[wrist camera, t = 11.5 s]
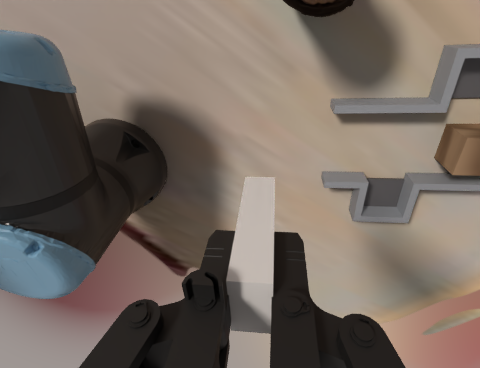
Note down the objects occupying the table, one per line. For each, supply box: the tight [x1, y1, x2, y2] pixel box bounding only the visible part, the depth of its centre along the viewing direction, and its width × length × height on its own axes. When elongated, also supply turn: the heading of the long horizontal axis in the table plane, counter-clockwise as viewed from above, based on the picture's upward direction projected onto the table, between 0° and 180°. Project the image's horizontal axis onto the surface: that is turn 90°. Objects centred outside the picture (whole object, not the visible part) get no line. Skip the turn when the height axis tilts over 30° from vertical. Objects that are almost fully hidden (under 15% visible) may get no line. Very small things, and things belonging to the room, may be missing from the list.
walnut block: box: [434, 124, 480, 176], centre depth 36 cm, size 5×5×5 cm
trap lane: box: [322, 44, 480, 223], centre depth 38 cm, size 23×24×3 cm
